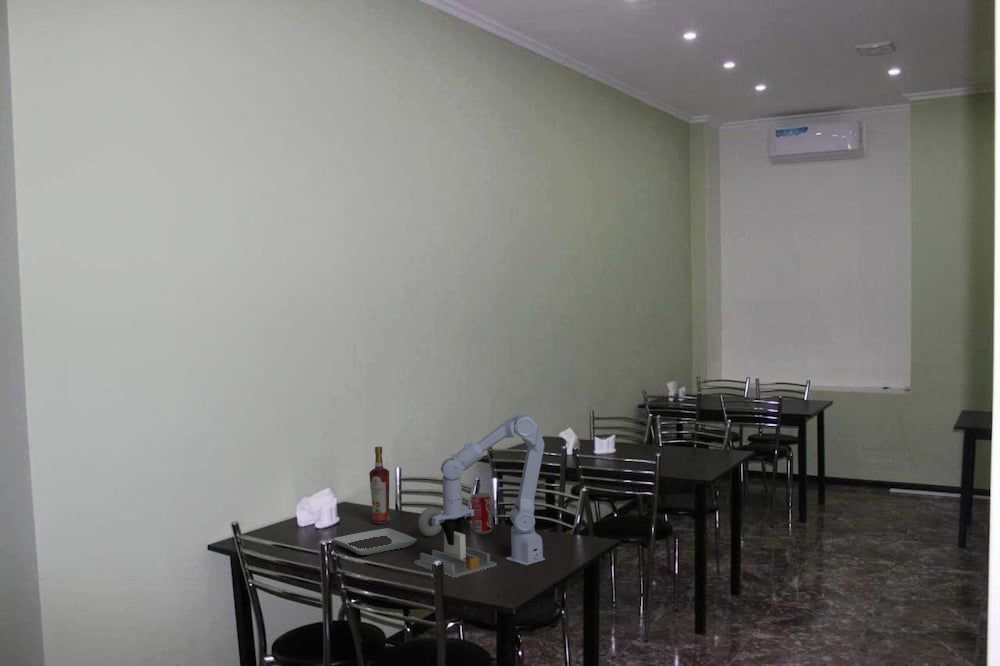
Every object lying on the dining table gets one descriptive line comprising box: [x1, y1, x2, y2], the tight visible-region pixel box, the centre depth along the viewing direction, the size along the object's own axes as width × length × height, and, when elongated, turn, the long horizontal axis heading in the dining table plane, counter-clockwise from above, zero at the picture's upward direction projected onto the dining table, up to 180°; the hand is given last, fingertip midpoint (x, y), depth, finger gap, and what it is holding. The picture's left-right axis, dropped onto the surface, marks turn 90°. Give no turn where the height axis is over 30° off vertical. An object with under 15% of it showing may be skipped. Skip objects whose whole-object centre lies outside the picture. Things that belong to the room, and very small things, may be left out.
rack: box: [413, 546, 497, 579], centre depth 257 cm, size 20×16×4 cm
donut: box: [417, 506, 443, 537], centre depth 292 cm, size 10×4×10 cm, turn 129°
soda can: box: [470, 492, 493, 535], centre depth 295 cm, size 7×7×13 cm
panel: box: [443, 531, 467, 559], centre depth 257 cm, size 8×2×7 cm, turn 40°
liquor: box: [368, 446, 391, 522], centre depth 313 cm, size 7×7×28 cm
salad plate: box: [332, 527, 417, 556], centre depth 281 cm, size 21×21×3 cm
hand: (454, 543), depth 257 cm, fingers closed on panel, 2 cm apart
